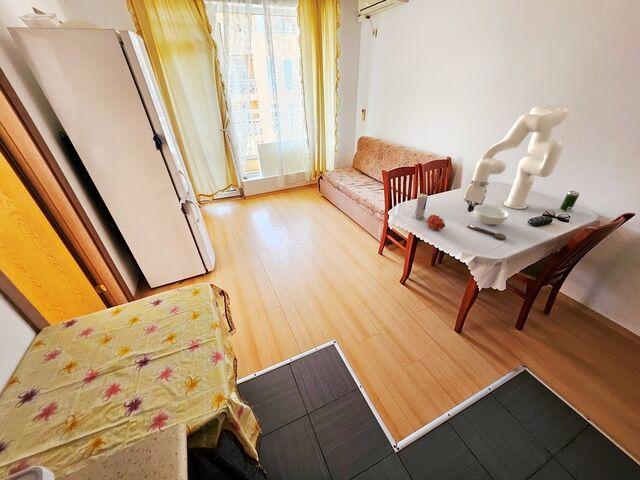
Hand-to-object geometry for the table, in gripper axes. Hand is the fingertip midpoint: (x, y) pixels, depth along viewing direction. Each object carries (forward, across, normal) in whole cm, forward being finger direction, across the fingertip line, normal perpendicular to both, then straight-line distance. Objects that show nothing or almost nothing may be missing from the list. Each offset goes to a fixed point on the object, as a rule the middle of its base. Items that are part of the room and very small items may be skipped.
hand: (470, 211), depth 157 cm
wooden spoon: (+4, -16, +14) cm, 21 cm away
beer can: (+3, -38, -48) cm, 62 cm away
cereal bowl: (+4, -11, -1) cm, 12 cm away
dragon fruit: (+4, +7, +28) cm, 29 cm away
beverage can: (+4, +21, +22) cm, 31 cm away
